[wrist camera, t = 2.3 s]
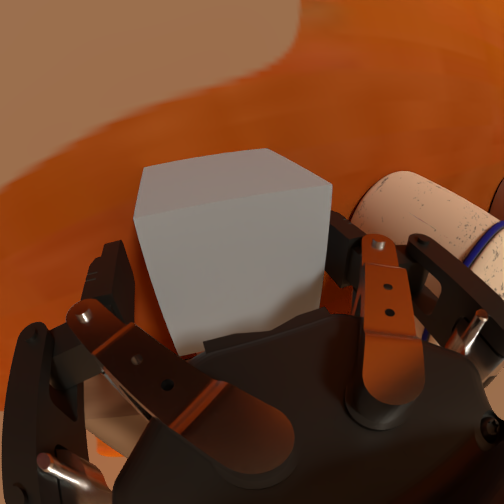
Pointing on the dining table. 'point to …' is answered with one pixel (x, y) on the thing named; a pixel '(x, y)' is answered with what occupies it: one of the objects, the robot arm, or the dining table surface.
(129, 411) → the walnut plinth
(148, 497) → the robot arm
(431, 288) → the teacup with lid
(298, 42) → the dining table surface
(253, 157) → the slate block
